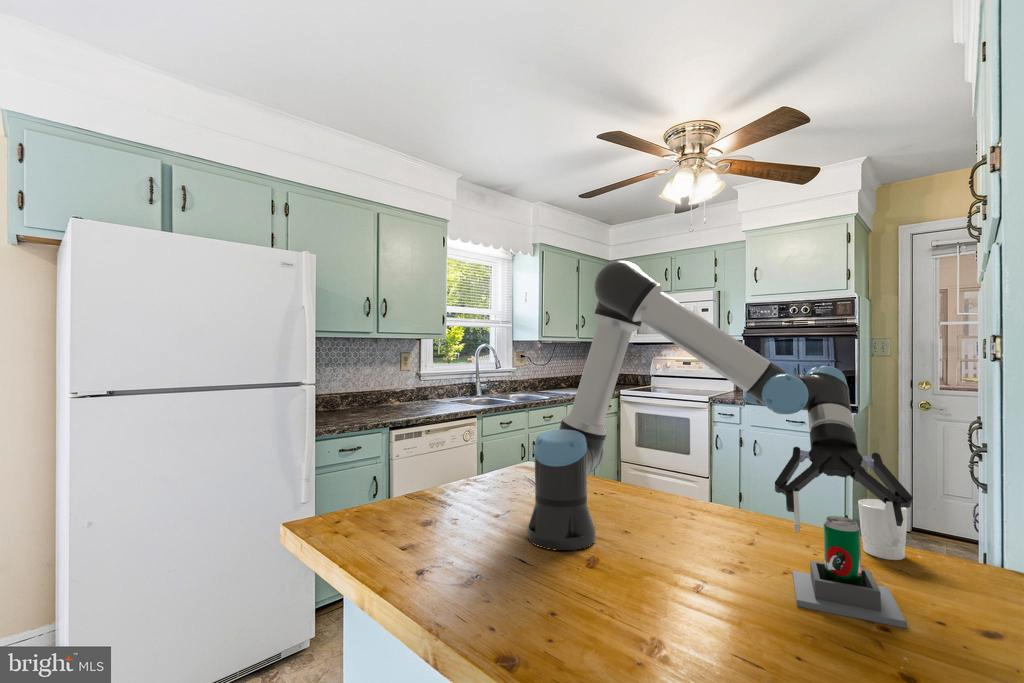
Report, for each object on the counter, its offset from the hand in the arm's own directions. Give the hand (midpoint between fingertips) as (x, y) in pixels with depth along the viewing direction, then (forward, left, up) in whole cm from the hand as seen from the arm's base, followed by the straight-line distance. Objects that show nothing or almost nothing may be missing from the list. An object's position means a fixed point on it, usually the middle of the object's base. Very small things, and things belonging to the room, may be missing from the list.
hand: (844, 535), depth 80 cm
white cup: (+9, +25, -11) cm, 29 cm away
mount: (-1, -1, -10) cm, 10 cm away
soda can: (0, -1, -9) cm, 10 cm away
